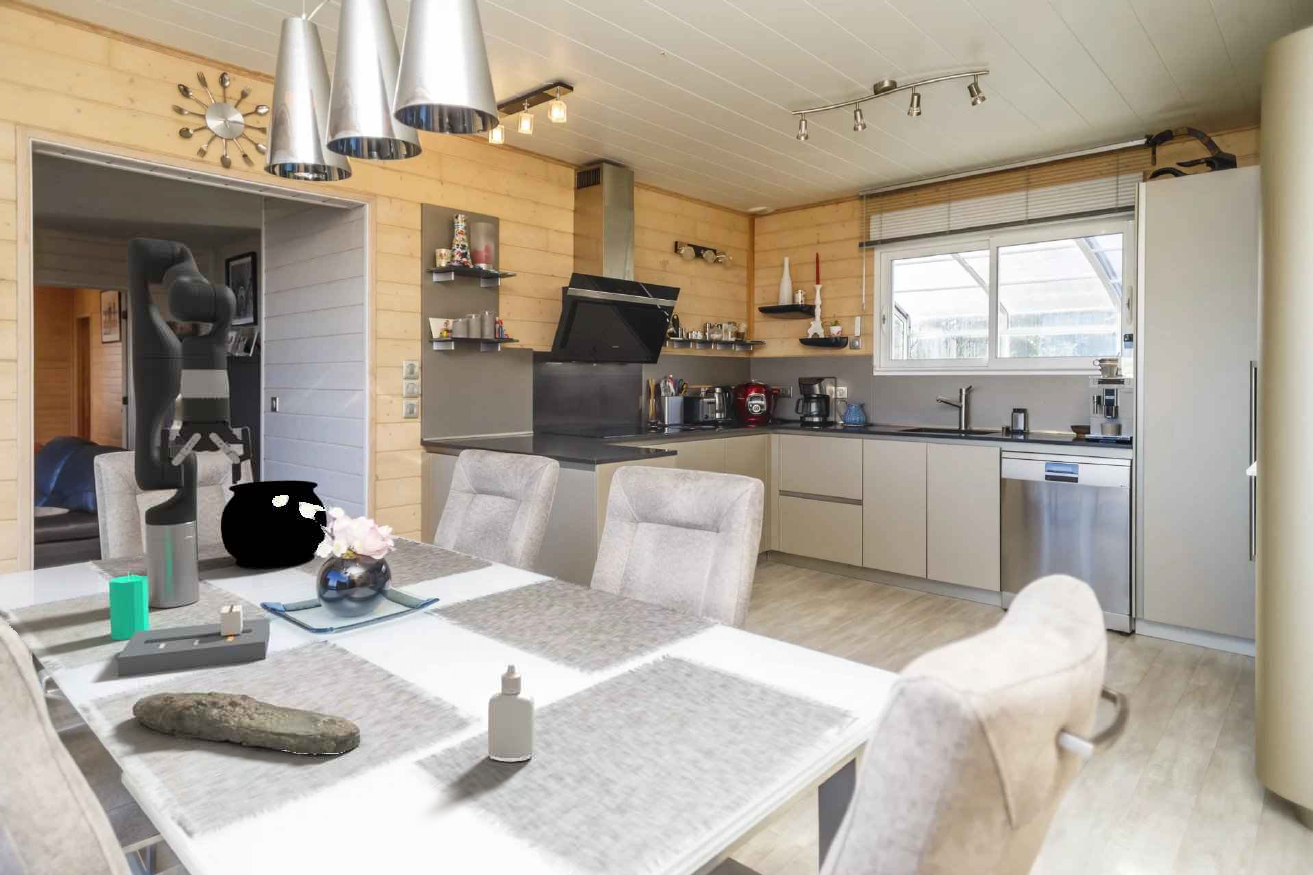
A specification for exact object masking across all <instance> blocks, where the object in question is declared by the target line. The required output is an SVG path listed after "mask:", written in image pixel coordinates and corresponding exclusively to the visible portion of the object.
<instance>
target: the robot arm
mask: <svg viewBox="0 0 1313 875" xmlns="http://www.w3.org/2000/svg"><path fill="white" fill-rule="evenodd" d="M126 267H127V269H126V270H127V279H128V288H129V296H130V297H129V299H130V307H131V324H132V325H131V326H132V329H131V330H132V332H131V333H132V338H131V339H132V341H131V342H132V343H131V344H132V345H131V346H132V348H131V349H132V355H131V356H132V373H133V374H132V376H133V390H134V392H133V393H134V404H135V405H134V407H135V429H134V431H135V433H134V434H135V436H134V463H133V464H134V469H133V470H134V478H135V482H136V485H137V487H138V489H139V490H141V491H143V492H144V491H145V492H150V491H151V492H152V491H166V490H169V491H170V490H176V492H175V493H174V495H173V496H171V497H170V498H169V499H166V501H163V502H161V503H159V504H157V505H154V506H151V507H149V508H148V509H147V510H146V511H145V513H144V519H145V520H144V524H145V544H146V545H145V547H146V548H145V549H146V550H145V552H146V571H147V572H146V576H147V582H148V607H151V608H158V609H159V608H161V609H162V608H163V609H164V608H176V607H182V606H187V605H191V604H194V603H196V602H198V601H199V600H200V570H199V543H198V541H199V540H198V515H197V514H198V513H197V512H198V498H197V497H198V457H197V453H202V452H206V451H207V452H211V453H212V452H213V453H215V452H218V451H222V452H223V453H224V455H226V457H228V458H229V460H230V461H232V463H231V480H232V481H231V484H232V485H238V482H240V481H241V480H242V463H243V462H245V461H249V460H251V458H252V457H253V453H252V452H253V451H252V440H251V431H250V428H249V427H248V426H243V427H238V428H236V427H235V428H233V427H232V425H231V416H230V411H231V410H230V384H229V376H228V370H227V369H228V368H227V366H228V362H227V361H228V360H227V359H228V358H227V346H228V340H229V336H230V330H231V327H232V323H233V320H234V316H235V315H236V314H235V313H236V309H237V298H236V295H235V293H234V292H233V290H232V289H231V288H230V287H229V286H227V285H224V284H220V283H219V284H218V283H210V282H209V280H208V279H207V278H206V277H204V276H203V274H202V273H200V271H199V268H198V266H197V262H196V261H195V258H194V256H193V253H192V252H191V251H190V248H188V247H187V245H185V244H184V243H182V242H177V241H172V240H164V239H163V240H162V239H156V238H155V239H154V238H147V237H146V238H145V237H132V238H130V240H129V242H128V243H127V248H126ZM150 286H160V287H161V286H162V287H163V290H164V292H165V294H166V295H167V307H168V311H169V313H170V315H171V316H172V317H173V318H174V319H176V320H178V321H181V322H184V323H185V322H186V323H199V324H200V323H201V324H212V326H211V328H210V330H209V331H208V332H207V333H205V334H200V335H199V334H198V335H191V336H187V337H184V338H183V339H182V341H180V340H179V338H178V336H177V335H176V334H175V333H174V331H173V330H172V329H171V327H170V326H169V325H168V324H167V322H166V321H165V319H164V318H163V317H162V315H161V314H160V312H159V310H158V308H157V307H156V304H155V302H154V300H153V297H152V294H151V290H150ZM179 395H180V405H181V427H180V428H169V427H164V428H162V429H161V430H160V445H156V439H157V438H156V437H157V433H158V430H159V428H160V426H161V423H162V421H163V419H164V418H165V415H166V413H168V412H169V409H170V408H171V407H172V405H173V404H174V403H175V402H176V400H177V399H178V397H179ZM233 435H235V436H236V438H237V439H238V440H241V443H242V444H241V445H242V454H238V452H236V451H235V449H234V448H233V447H232V445H230V444H229V440H230V438H231V439H232V436H233ZM176 436H179V437H180V439H182V440H183V441H184V442H185V444H172V442H173V441H174V440H176V438H177V437H176ZM171 441H172V442H171ZM171 444H172V445H171Z"/></svg>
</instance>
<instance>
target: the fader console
mask: <svg viewBox="0 0 1313 875" xmlns="http://www.w3.org/2000/svg"><path fill="white" fill-rule="evenodd" d="M270 628H271V627H270V617H268V618H257V619H248V620H243V628H242V632H241V634H233V635H224V636H221V622H218V623H209V624H208V623H207V624H198V625H197V624H196V625H187V626H186V625H185V626H178V627H177V626H176V627H168V628H167V627H166V628H158V629H149V630H146V631H136V632H135V633H134V635H133V636H132V638H131V639H129V641H128V642H127V643H126V645H125V647H124V648H123V650H122V651H121V652H120V653H119V655H118V656H117V673H118V674H117V676H118V677H121V676H122V677H123V676H129V675H130V676H131V675H137V674H145V673H146V674H148V673H155V672H156V673H157V672H164V671H172V670H181V669H190V668H191V669H192V668H199V667H205V666H207V667H208V666H215V665H217V666H218V665H224V664H231V663H241V662H247V661H249V662H250V661H257V660H266V659H267V651H268V646H269V642H270V635H271V633H270Z"/></svg>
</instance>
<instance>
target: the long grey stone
mask: <svg viewBox="0 0 1313 875" xmlns="http://www.w3.org/2000/svg"><path fill="white" fill-rule="evenodd" d="M132 715H133V716H134V717H136V718H135V719H136V720H135V722H136V723H137V725H144V726H147V727H149V729H152V730H154V731H157V732H159V733H166V734H169V733H170V734H171V735H173V736H175V739H182V738H181V737H185V738H187V739H189V740H191V739H190V738H193V739H201V740H205V741H215V742H217V743H218V742H224V741H228V740H229V741H230V742H233V743H236V744H240V743H241V744H242V746H244V747H261V748H268V749H270V748H271V749H272V750H274V749H278V750H287V751H290V752H296V753H309V754H308V755H312V754H313V755H312V756H314V754H318V755H319V754H322V753H323V754H324V753H341V752H344V751H348V750H350V749H352V748H354V747H356V746H357V745H358V744H359V743H361V733H360V731H361V730H360V728H359V726H358V725H356V724H355V723H353V722H352V721H350V720H348V719H347V718H345V717H342V716H338V715H332V714H329V715H328V714H324V713H319V712H315V711H312V710H310V711H309V710H305V709H300V708H290V707H285V706H277V705H274V704H272V703H268V702H265V701H260V700H257V699H256V698H254V697H252V696H249V695H248V694H236V693H225V692H221V693H220V692H216V691H213V690H212V691H209V692H161V693H156V694H152V695H147V696H145V697H143V698H140V699H138V700H137V701H136V703H134V704H133V706H132ZM359 745H360V744H359ZM359 745H358V746H359ZM358 746H357V747H358ZM357 747H356V748H357ZM354 749H355V748H354ZM278 750H277V751H278ZM350 751H351V750H350ZM348 752H349V751H348Z"/></svg>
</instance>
